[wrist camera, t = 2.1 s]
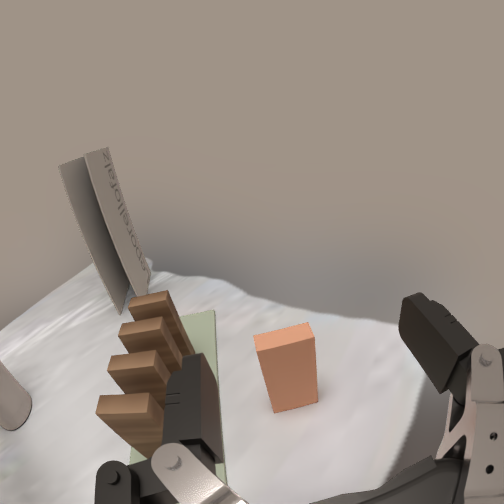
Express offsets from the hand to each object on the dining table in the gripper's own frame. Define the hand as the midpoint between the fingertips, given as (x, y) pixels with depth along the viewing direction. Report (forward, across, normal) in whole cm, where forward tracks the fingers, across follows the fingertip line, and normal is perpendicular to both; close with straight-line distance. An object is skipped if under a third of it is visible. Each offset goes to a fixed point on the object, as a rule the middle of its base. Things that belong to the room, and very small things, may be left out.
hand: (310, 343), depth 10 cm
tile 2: (+5, +14, +20) cm, 25 cm away
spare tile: (+10, 0, +20) cm, 23 cm away
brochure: (+42, +26, +20) cm, 54 cm away
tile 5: (+20, +14, +20) cm, 32 cm away
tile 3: (+10, +14, +20) cm, 27 cm away
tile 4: (+15, +14, +20) cm, 29 cm away
